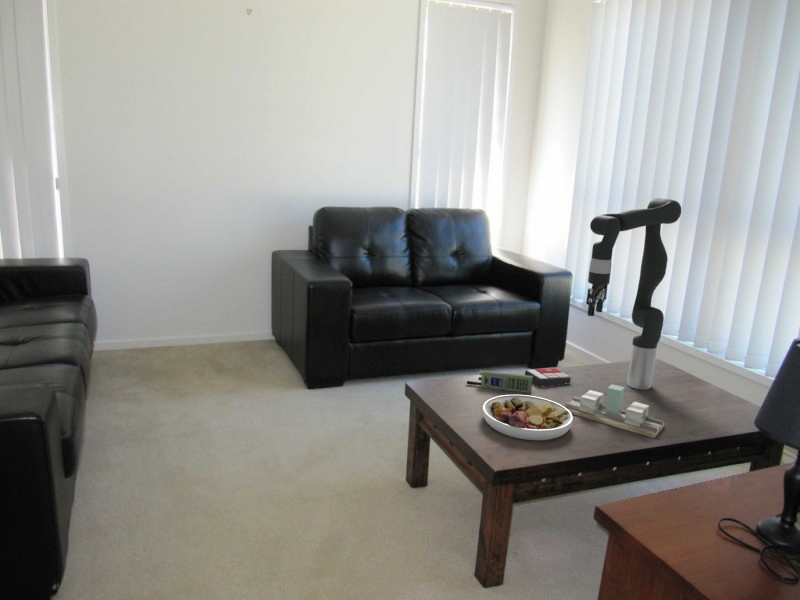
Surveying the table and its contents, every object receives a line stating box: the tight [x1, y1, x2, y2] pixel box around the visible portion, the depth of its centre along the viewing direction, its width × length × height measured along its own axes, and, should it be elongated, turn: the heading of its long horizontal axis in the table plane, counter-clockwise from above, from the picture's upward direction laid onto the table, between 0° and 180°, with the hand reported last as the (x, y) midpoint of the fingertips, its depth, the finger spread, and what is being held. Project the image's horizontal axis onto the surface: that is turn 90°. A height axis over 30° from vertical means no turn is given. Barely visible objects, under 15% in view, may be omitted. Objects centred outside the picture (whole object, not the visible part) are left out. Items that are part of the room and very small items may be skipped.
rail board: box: [564, 389, 665, 439], centre depth 222 cm, size 12×32×7 cm, turn 53°
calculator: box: [524, 367, 572, 388], centre depth 257 cm, size 11×4×15 cm
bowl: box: [482, 394, 574, 441], centre depth 214 cm, size 30×30×8 cm
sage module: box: [604, 383, 625, 417], centre depth 221 cm, size 4×4×10 cm
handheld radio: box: [466, 370, 533, 394], centre depth 246 cm, size 7×3×25 cm
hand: (594, 313), depth 234 cm, fingers open, 8 cm apart
